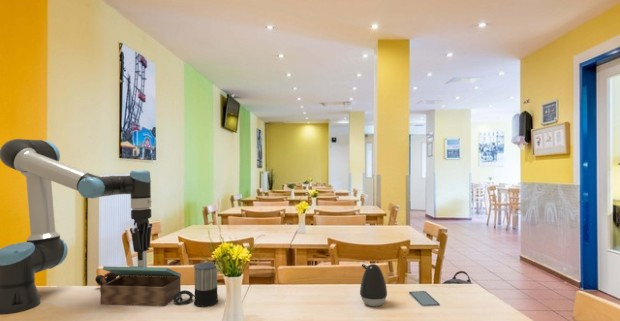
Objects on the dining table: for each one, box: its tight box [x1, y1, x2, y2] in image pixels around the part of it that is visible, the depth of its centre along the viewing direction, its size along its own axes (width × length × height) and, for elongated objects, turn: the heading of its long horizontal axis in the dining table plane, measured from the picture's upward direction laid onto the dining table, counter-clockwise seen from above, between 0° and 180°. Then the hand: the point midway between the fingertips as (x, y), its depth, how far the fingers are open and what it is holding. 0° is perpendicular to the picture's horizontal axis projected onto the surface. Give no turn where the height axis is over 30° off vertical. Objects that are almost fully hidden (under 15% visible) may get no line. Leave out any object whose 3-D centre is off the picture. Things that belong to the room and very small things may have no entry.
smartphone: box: [408, 290, 441, 307], centre depth 156 cm, size 7×1×15 cm
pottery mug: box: [95, 271, 121, 286], centre depth 172 cm, size 12×10×8 cm
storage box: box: [99, 276, 182, 307], centre depth 159 cm, size 26×14×7 cm, turn 84°
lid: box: [102, 265, 182, 278], centre depth 160 cm, size 26×14×2 cm, turn 84°
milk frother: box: [172, 261, 219, 308], centre depth 154 cm, size 14×16×15 cm
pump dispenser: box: [359, 263, 388, 307], centre depth 151 cm, size 10×10×15 cm
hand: (142, 267), depth 158 cm, fingers closed
